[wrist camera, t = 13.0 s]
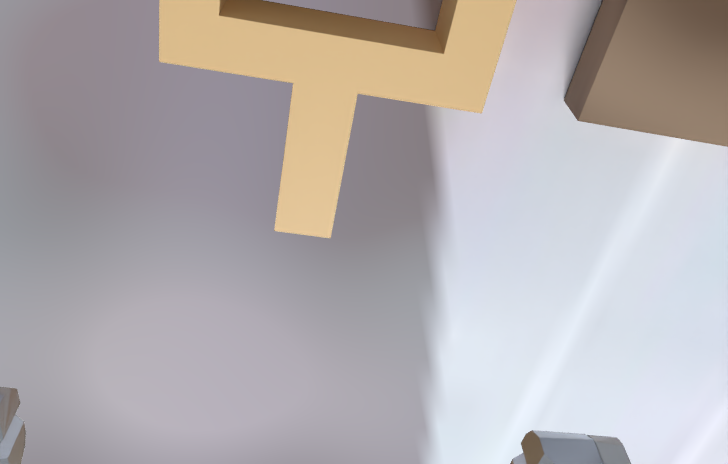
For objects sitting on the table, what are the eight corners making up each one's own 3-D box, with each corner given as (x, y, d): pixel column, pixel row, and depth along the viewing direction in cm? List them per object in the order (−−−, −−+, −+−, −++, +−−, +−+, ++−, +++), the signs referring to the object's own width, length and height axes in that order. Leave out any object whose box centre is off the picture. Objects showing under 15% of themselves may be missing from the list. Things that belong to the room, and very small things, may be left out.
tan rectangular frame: (182, -370, 14) (161, -389, 12) (574, -275, 15) (602, -281, 14) (171, 182, 22) (158, 215, 20) (431, 218, 23) (438, 252, 21)
